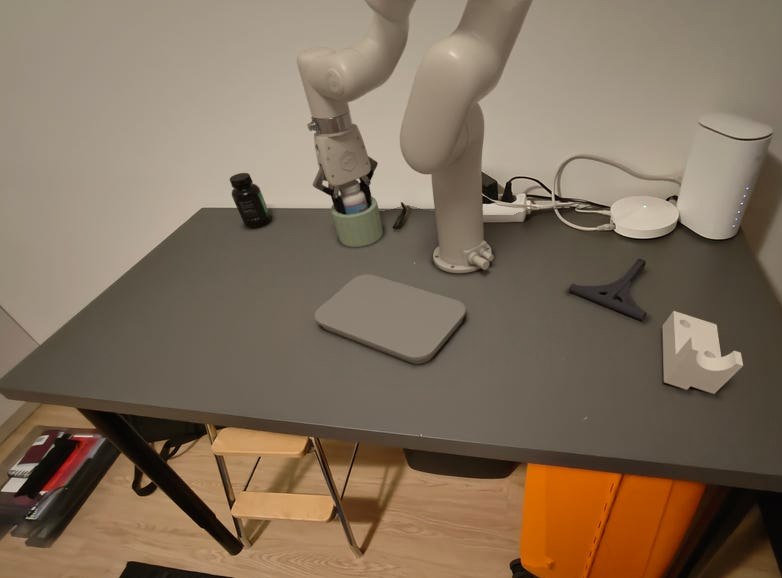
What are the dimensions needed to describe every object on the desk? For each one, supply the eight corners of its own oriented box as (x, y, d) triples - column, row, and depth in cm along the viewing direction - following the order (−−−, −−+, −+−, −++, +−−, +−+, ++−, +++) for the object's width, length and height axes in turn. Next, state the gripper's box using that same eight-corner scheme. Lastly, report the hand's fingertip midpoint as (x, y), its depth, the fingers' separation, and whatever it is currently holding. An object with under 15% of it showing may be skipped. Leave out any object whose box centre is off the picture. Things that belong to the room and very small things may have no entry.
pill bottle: (370, 235, 106) (359, 188, 98) (345, 237, 107) (332, 190, 99) (374, 222, 110) (364, 176, 102) (349, 224, 111) (337, 178, 103)
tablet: (425, 371, 76) (423, 362, 74) (311, 327, 87) (307, 317, 85) (472, 314, 85) (471, 304, 83) (364, 280, 96) (361, 271, 94)
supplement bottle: (277, 218, 119) (259, 173, 111) (257, 231, 115) (238, 185, 107) (259, 213, 122) (240, 169, 114) (239, 226, 118) (219, 180, 110)
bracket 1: (677, 281, 87) (681, 268, 85) (641, 322, 79) (644, 310, 77) (607, 257, 94) (609, 245, 92) (568, 293, 87) (569, 281, 85)
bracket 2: (710, 397, 68) (743, 365, 62) (663, 382, 69) (692, 349, 63) (703, 339, 77) (732, 306, 71) (662, 325, 77) (687, 292, 71)
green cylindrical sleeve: (391, 234, 108) (385, 204, 103) (352, 252, 104) (344, 222, 99) (368, 219, 115) (362, 190, 109) (331, 235, 111) (322, 206, 105)
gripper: (301, 140, 86) (328, 226, 99) (379, 114, 93) (394, 198, 105) (285, 131, 91) (313, 215, 103) (360, 107, 97) (377, 188, 110)
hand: (354, 206), depth 104 cm, fingers closed on pill bottle, 6 cm apart
